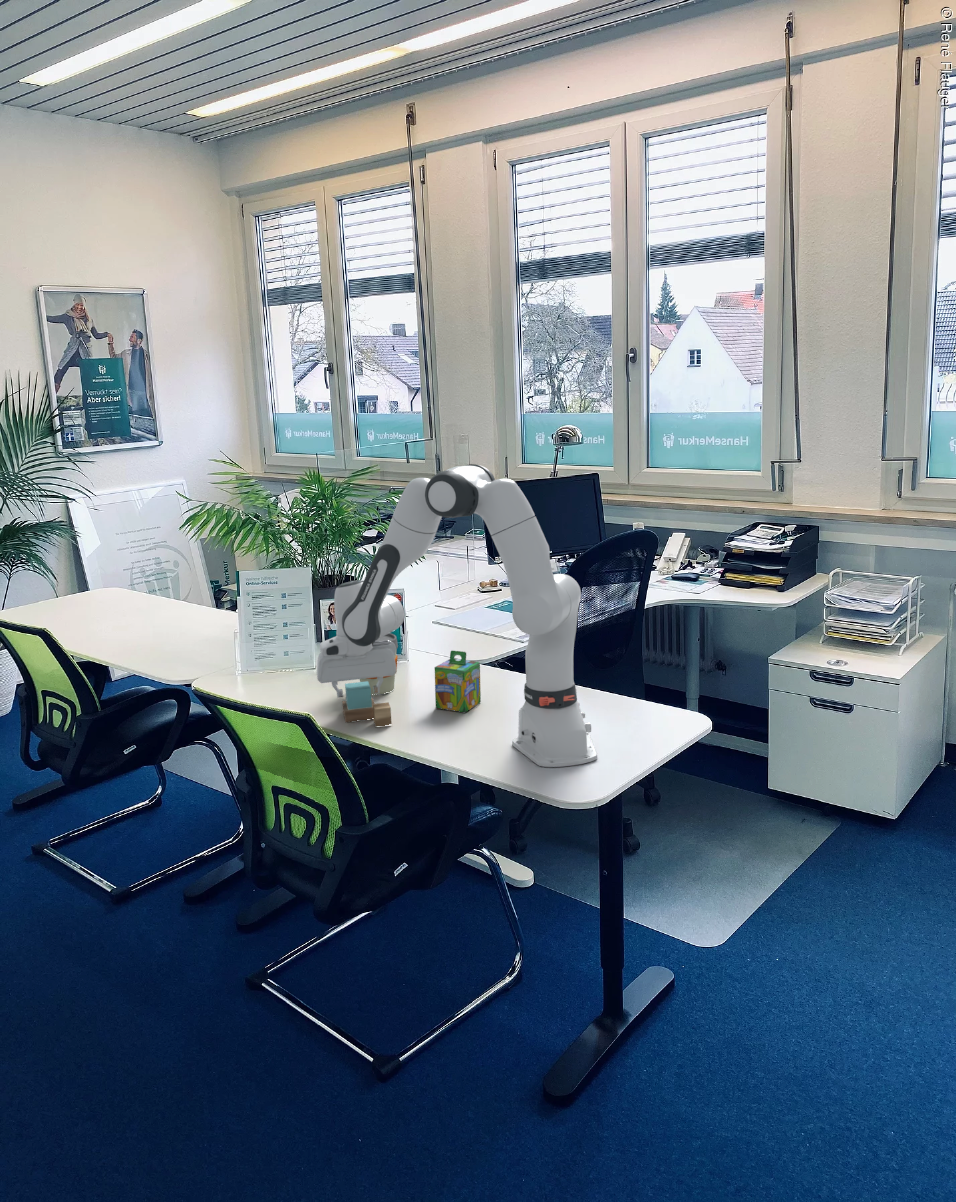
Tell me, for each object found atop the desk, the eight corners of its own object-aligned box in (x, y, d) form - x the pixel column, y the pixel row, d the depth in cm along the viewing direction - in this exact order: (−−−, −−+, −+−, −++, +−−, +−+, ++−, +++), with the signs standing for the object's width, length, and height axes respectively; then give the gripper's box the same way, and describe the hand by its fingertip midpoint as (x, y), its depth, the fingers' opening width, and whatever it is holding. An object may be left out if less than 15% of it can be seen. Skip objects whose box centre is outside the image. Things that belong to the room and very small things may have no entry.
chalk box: (434, 709, 251) (432, 655, 248) (452, 698, 259) (449, 645, 255) (465, 714, 247) (463, 658, 243) (482, 702, 255) (480, 649, 251)
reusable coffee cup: (406, 693, 265) (403, 640, 261) (362, 700, 260) (358, 647, 257) (393, 680, 276) (389, 630, 272) (350, 686, 272) (346, 636, 268)
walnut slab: (377, 719, 246) (376, 707, 245) (345, 722, 244) (344, 711, 243) (373, 708, 253) (372, 697, 252) (343, 712, 252) (342, 701, 251)
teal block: (371, 706, 246) (370, 688, 244) (348, 709, 244) (347, 690, 243) (369, 699, 251) (368, 681, 250) (346, 701, 250) (345, 683, 249)
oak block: (391, 726, 241) (390, 707, 239) (375, 728, 240) (374, 709, 239) (389, 720, 244) (388, 702, 243) (374, 722, 244) (372, 703, 242)
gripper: (393, 636, 249) (396, 686, 252) (314, 643, 245) (318, 695, 248) (396, 642, 243) (400, 694, 246) (315, 650, 239) (319, 703, 242)
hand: (358, 694), depth 247 cm, fingers open, 8 cm apart
